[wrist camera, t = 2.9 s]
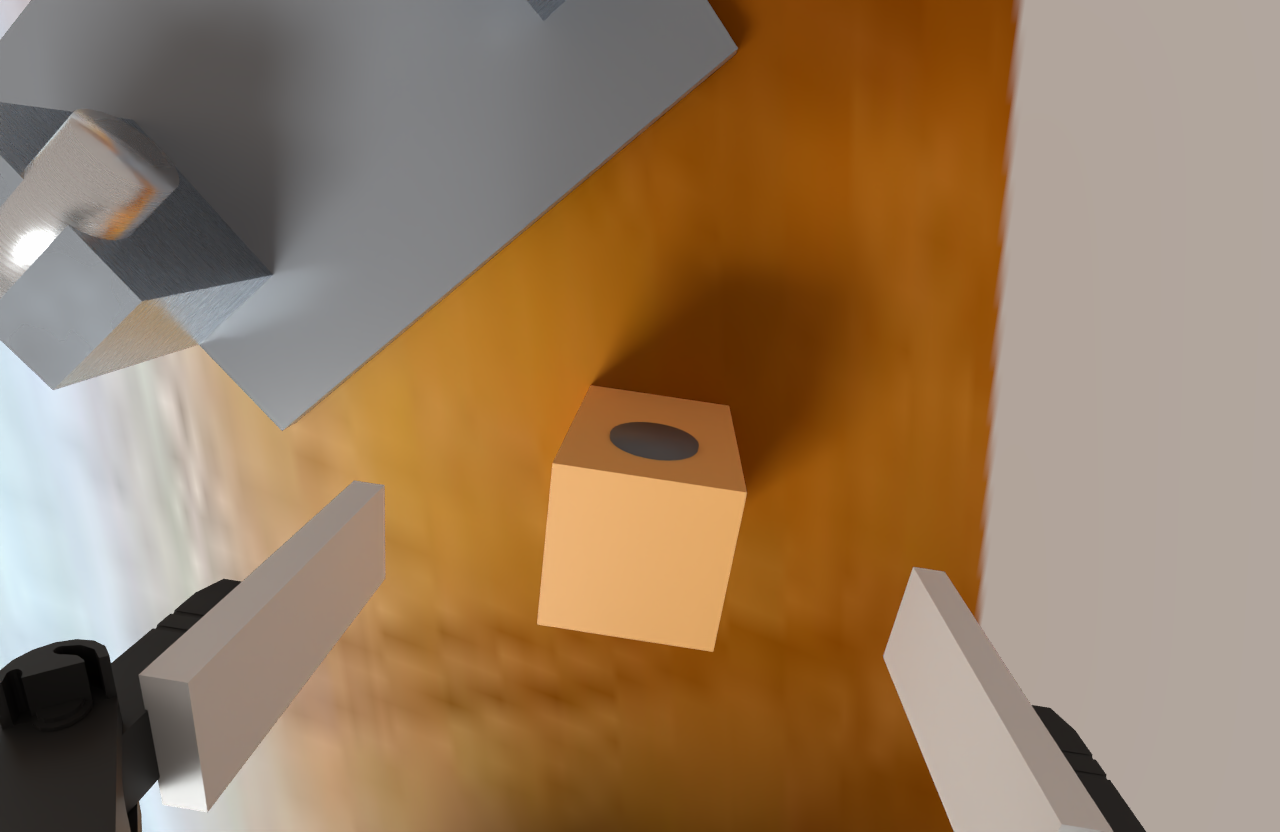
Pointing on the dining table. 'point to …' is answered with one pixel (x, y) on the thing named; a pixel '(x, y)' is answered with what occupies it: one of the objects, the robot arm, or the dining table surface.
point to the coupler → (643, 519)
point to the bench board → (363, 140)
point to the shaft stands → (110, 245)
